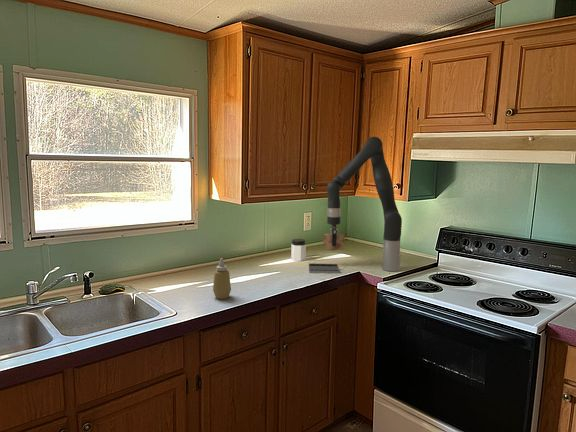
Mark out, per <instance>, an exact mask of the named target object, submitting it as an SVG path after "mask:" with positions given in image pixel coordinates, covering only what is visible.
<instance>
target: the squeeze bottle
mask: <svg viewBox="0 0 576 432" xmlns="http://www.w3.org/2000/svg"><path fill="white" fill-rule="evenodd" d="M230 276H231V275H230V271H229V270H228V266H227V265H226V264H225V262H224V258H223V257H221V258H220V259H219V263H218V265H216V270H215V271H214V273H213V285H212V292H213V294H214V298H215V299H217V300H225V299H228V298H229V297H230V293H231V292H232V291H231V290H232V287H231V285H232V284H231V278H230Z"/></svg>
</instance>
